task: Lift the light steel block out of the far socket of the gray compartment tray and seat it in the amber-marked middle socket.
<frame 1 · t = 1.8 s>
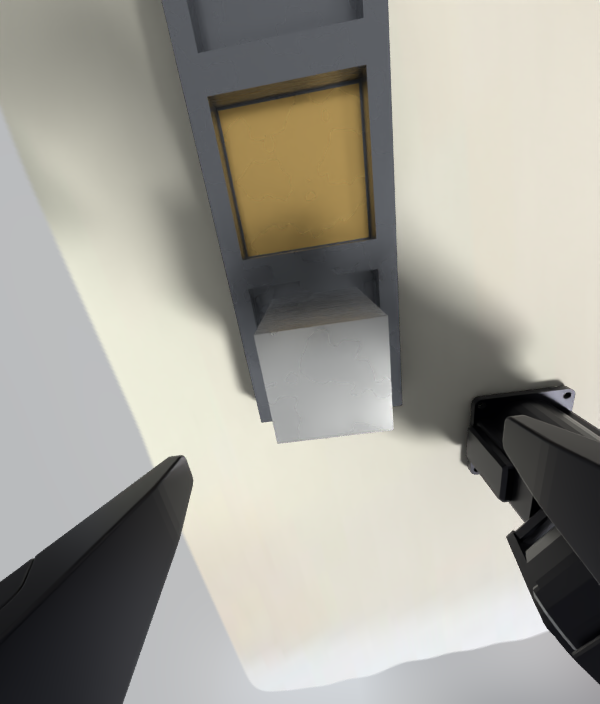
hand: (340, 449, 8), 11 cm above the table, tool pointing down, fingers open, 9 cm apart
metal block: (319, 333, 18), point 1 cm above the table, touching gray compartment tray
gray compartment tray: (298, 180, 16), on the table
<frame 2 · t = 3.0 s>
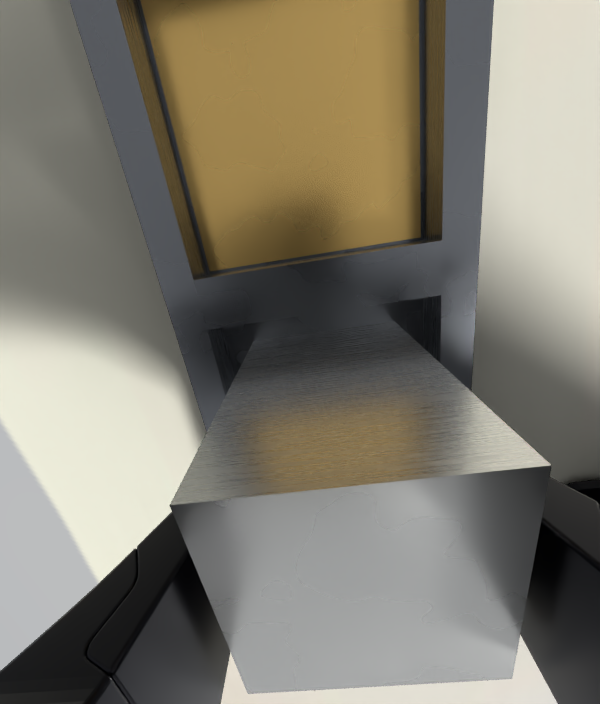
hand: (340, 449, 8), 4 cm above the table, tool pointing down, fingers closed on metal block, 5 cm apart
metal block: (330, 393, 11), point 1 cm above the table, touching gripper, gray compartment tray
gray compartment tray: (296, 136, 9), on the table
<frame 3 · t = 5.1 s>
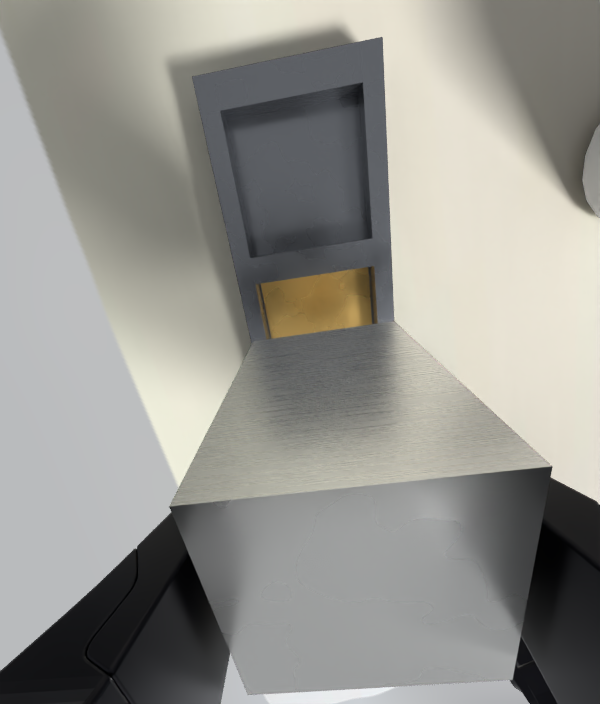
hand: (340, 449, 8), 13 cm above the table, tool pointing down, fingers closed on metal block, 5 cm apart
metal block: (330, 393, 11), point 10 cm above the table, touching gripper
gray compartment tray: (320, 323, 20), on the table
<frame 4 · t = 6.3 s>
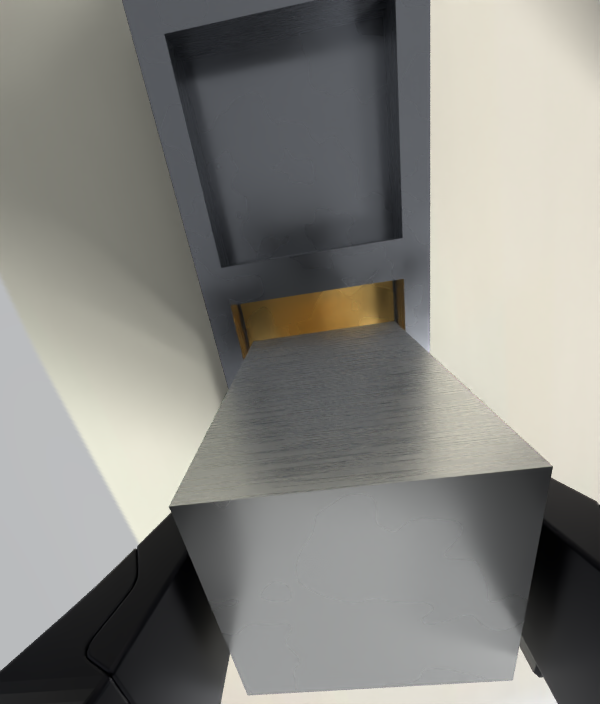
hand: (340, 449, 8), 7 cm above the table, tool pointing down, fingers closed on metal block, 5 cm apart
metal block: (330, 393, 11), point 4 cm above the table, touching gripper
gray compartment tray: (323, 354, 15), on the table
when the fingers open (5 cm above the table, at t = 7.3 s): metal block stays where it is, resting on gray compartment tray.
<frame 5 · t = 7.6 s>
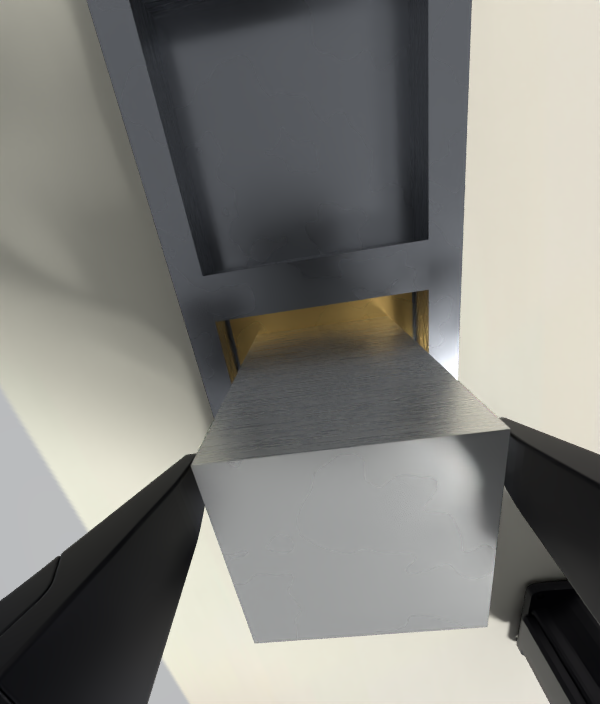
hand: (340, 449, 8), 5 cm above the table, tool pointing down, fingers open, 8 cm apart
metal block: (329, 384, 12), point 1 cm above the table, touching gray compartment tray
gray compartment tray: (327, 375, 13), on the table
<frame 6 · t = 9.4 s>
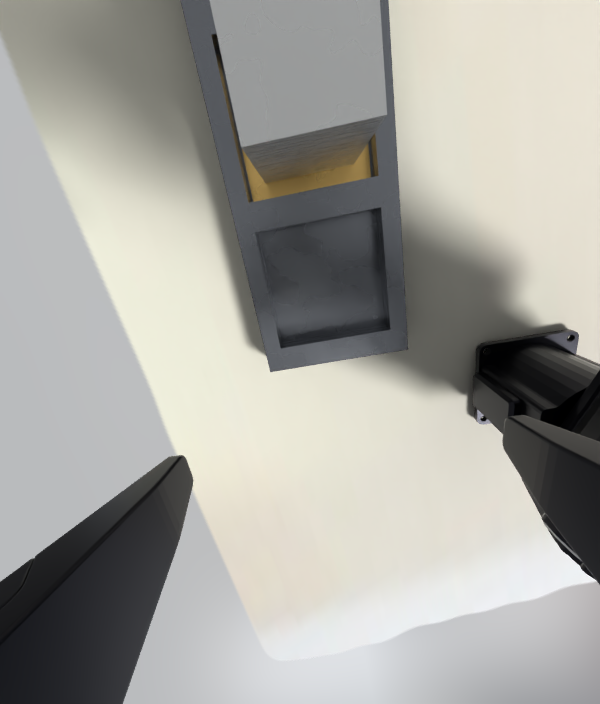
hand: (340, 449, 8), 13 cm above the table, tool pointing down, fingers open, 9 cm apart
metal block: (301, 120, 16), point 1 cm above the table, touching gray compartment tray
gray compartment tray: (300, 124, 16), on the table
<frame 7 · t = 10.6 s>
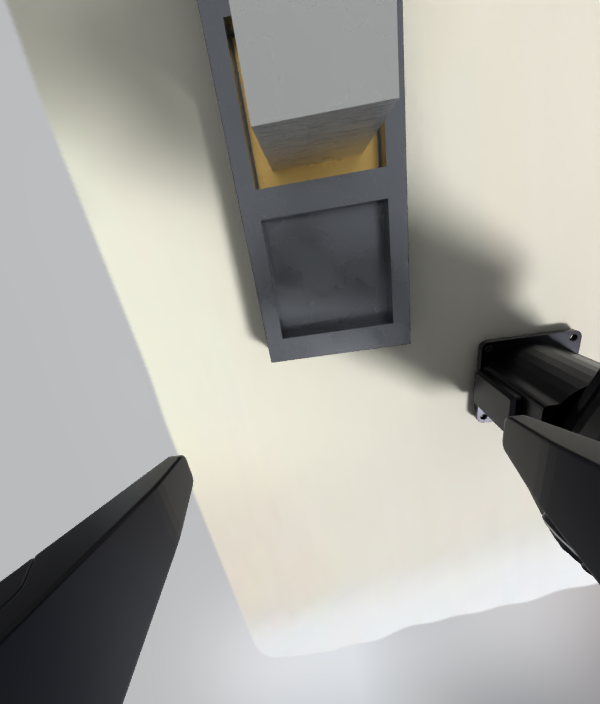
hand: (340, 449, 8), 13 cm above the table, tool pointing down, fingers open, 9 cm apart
metal block: (310, 108, 16), point 1 cm above the table, touching gray compartment tray
gray compartment tray: (309, 113, 16), on the table
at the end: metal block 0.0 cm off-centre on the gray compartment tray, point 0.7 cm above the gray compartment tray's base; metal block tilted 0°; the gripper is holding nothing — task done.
